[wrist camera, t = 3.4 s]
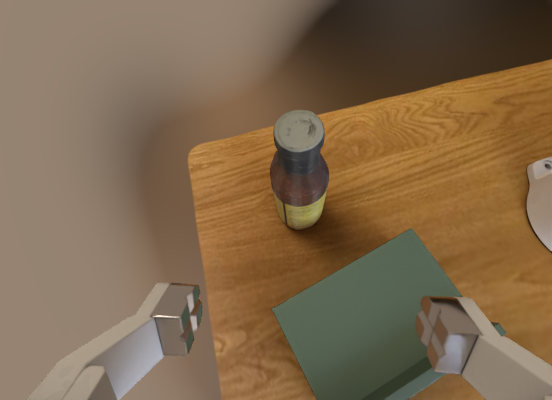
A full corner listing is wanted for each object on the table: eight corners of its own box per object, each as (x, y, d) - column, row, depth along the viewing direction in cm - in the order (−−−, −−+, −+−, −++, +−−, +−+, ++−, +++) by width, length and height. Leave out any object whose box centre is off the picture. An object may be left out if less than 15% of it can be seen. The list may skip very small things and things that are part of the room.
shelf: (390, 240, 38) (421, 221, 29) (450, 324, 34) (507, 333, 25) (274, 307, 36) (269, 309, 27) (324, 405, 32) (338, 446, 23)
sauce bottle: (329, 206, 40) (363, 125, 22) (303, 240, 39) (316, 184, 20) (293, 181, 42) (295, 85, 23) (266, 213, 40) (246, 138, 22)
